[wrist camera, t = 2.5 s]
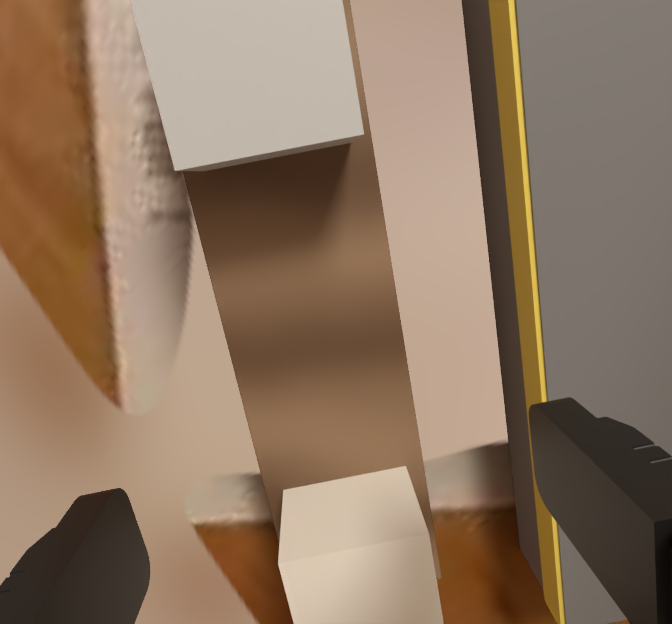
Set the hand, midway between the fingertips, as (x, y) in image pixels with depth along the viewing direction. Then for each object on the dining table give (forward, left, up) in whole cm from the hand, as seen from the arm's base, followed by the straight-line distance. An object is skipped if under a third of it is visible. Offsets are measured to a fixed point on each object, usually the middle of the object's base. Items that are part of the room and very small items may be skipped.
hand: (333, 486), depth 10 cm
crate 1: (-9, 0, -9) cm, 13 cm away
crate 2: (+8, 0, -9) cm, 12 cm away
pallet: (0, 0, -13) cm, 13 cm away
